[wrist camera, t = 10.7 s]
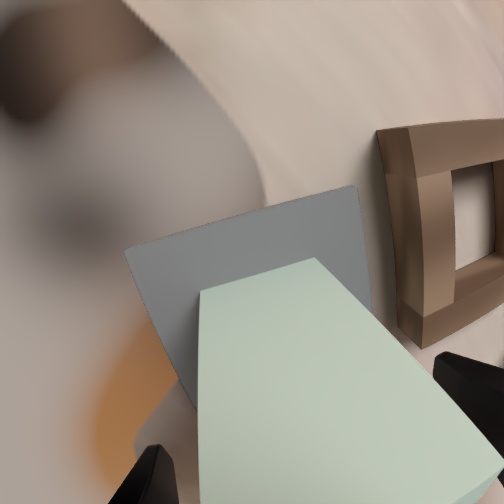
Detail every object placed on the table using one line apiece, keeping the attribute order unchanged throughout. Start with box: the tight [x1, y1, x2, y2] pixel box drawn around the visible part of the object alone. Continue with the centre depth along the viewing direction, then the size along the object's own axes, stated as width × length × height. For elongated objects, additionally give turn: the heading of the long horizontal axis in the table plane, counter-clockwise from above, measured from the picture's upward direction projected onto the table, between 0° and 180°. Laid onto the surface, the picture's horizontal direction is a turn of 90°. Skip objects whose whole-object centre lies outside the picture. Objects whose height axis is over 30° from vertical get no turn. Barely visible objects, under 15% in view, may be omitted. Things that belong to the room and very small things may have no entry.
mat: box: [124, 185, 372, 413], centre depth 14 cm, size 10×10×1 cm
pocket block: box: [376, 118, 504, 350], centre depth 13 cm, size 10×10×2 cm
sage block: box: [198, 257, 504, 504], centre depth 9 cm, size 5×5×11 cm
